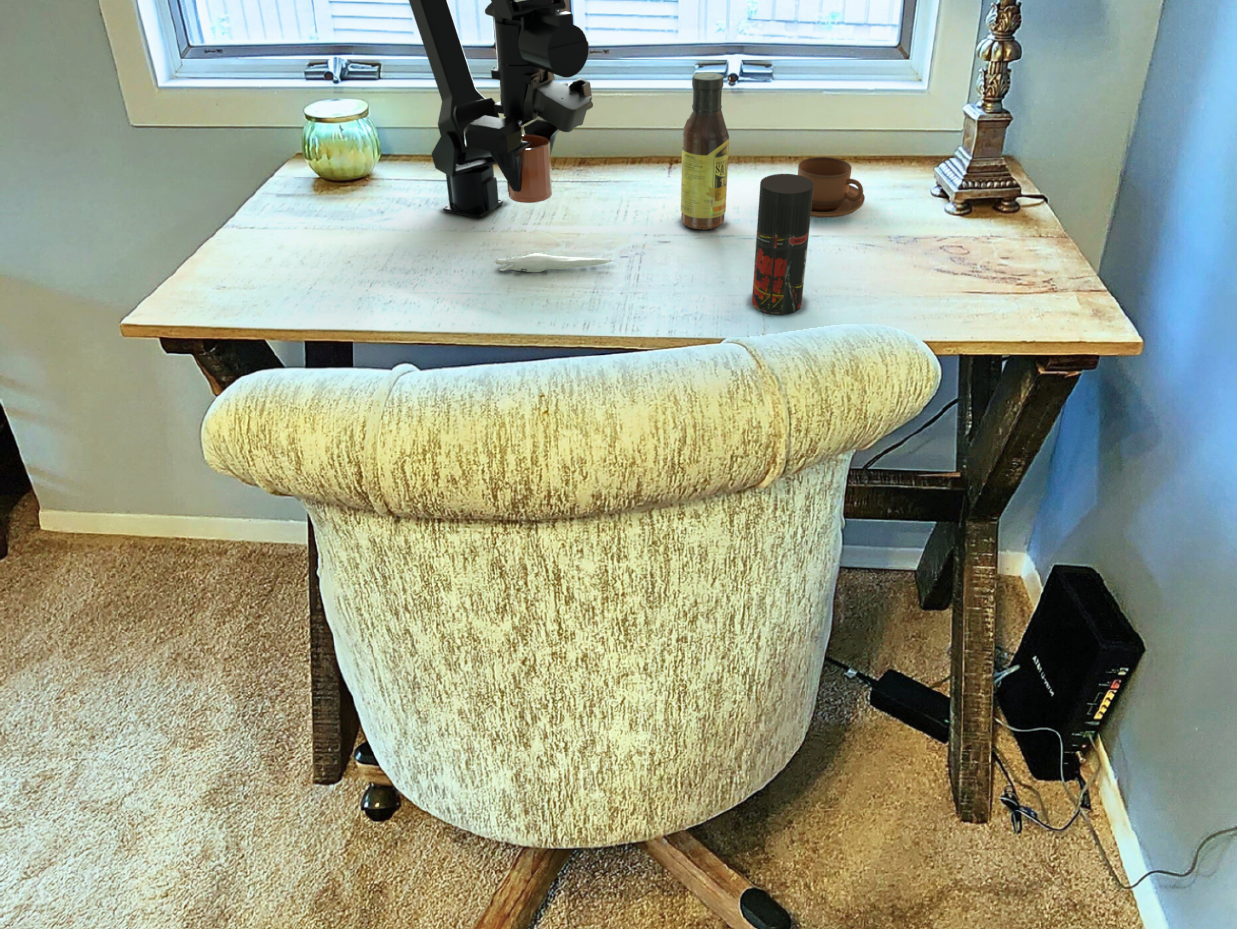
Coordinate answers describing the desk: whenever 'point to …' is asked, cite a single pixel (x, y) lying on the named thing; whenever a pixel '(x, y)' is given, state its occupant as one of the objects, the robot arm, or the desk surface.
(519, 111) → the robot arm
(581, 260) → the white elongated piece
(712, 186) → the sauce bottle
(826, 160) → the cup and saucer
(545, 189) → the cup
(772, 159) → the desk surface
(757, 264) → the deodorant
